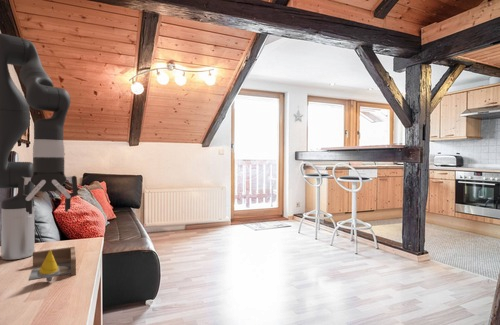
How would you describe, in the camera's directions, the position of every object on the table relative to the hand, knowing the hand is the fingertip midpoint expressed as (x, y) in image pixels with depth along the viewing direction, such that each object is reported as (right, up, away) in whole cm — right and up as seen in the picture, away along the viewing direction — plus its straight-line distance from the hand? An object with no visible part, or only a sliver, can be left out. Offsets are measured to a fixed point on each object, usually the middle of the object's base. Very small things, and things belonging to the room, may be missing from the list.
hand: (49, 212), depth 86 cm
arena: (-4, -20, +8) cm, 22 cm away
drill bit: (0, -20, 0) cm, 20 cm away
